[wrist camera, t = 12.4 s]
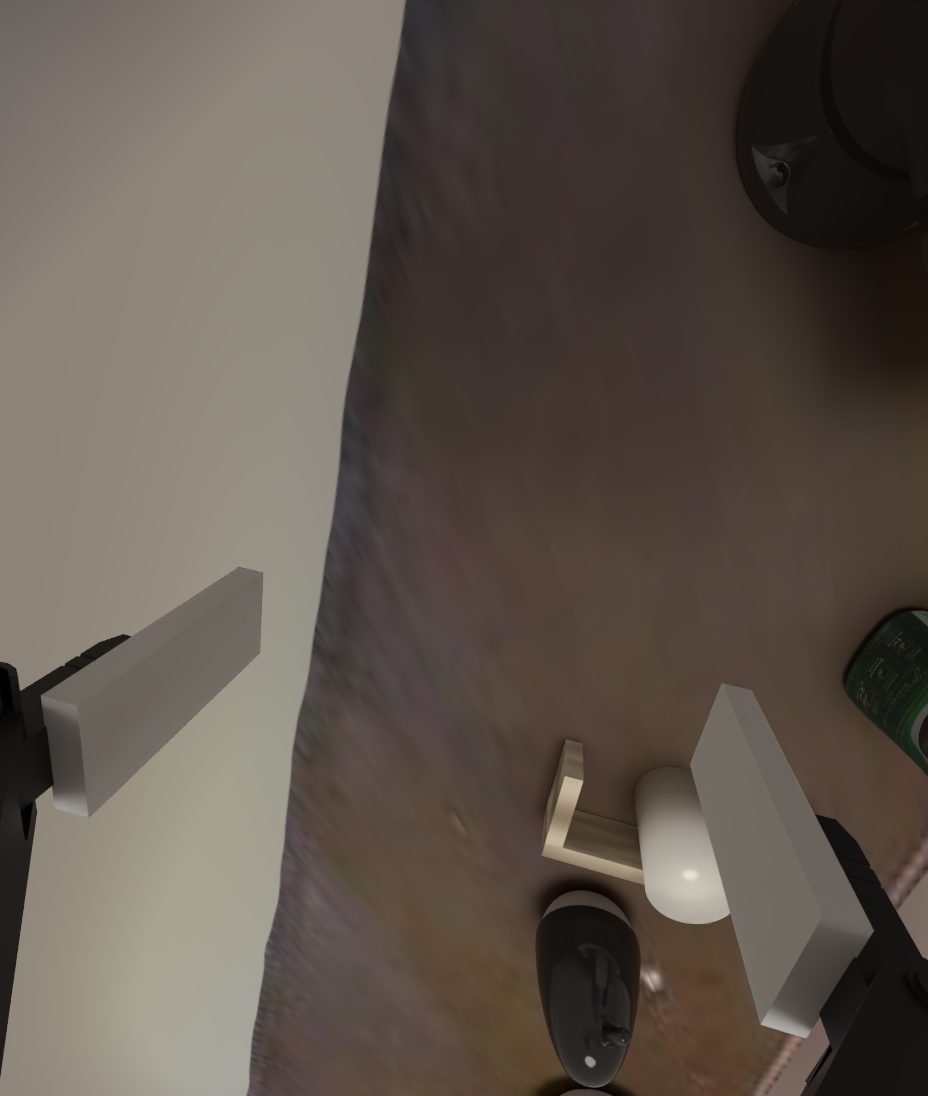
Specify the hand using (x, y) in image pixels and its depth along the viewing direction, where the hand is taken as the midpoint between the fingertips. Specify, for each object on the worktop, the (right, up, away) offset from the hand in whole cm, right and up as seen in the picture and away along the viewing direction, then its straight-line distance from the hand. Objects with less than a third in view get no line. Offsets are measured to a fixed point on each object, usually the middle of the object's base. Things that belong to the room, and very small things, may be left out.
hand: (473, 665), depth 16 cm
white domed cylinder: (+19, -20, +38) cm, 47 cm away
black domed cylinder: (+13, -35, +44) cm, 58 cm away
